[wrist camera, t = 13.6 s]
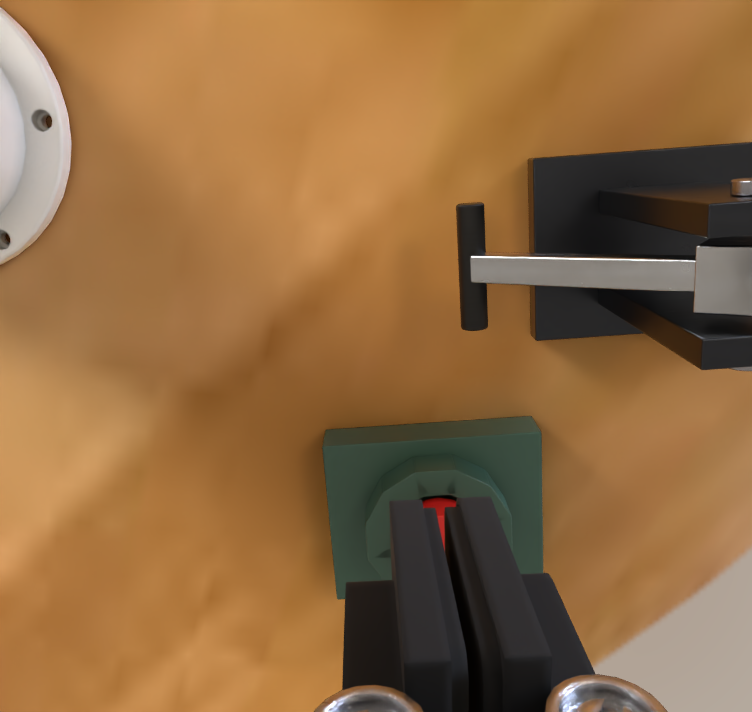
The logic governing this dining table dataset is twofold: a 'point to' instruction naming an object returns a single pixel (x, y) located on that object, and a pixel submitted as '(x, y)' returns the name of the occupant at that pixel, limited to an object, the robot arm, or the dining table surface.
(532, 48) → the dining table surface
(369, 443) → the button box
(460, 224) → the lever
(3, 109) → the robot arm
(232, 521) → the dining table surface
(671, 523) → the dining table surface
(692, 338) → the bracket
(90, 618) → the dining table surface
